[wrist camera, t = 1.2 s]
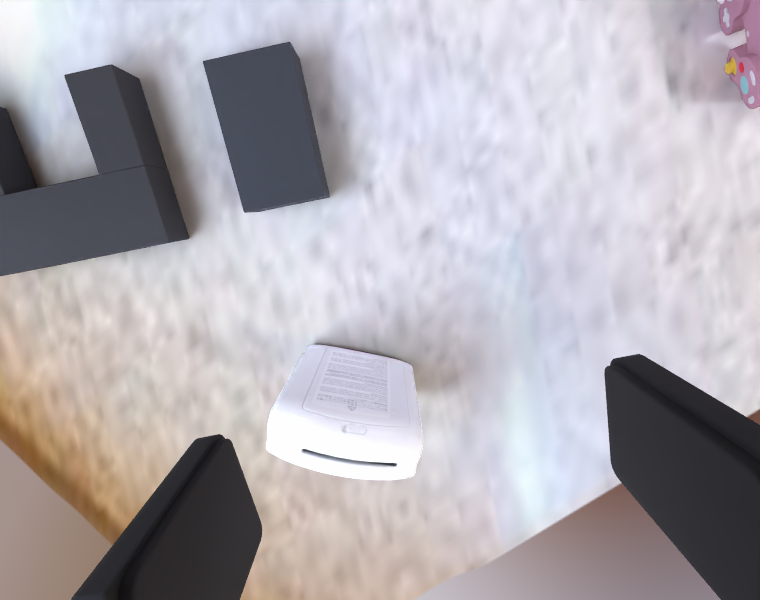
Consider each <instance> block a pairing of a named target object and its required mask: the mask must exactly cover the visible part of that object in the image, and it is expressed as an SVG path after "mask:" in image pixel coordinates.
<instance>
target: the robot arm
mask: <svg viewBox="0 0 760 600" xmlns="http://www.w3.org/2000/svg"><path fill="white" fill-rule="evenodd" d="M605 386H606V400H607V414H608V428H609V443H610V457H611V464H612V468H613V470H614V472H615V474H616V476H617V477H618V479H619V480H620V481H621V482H622V483H623V484H624V486H625V487H626V488H627V489H628V490H629V492H630V493H631V494H632V495H633V496H634V498H635V499H636V500H637V501H638V502H639V503H640V505H641V506H642V507H643V508H644V509H645V511H646V512H647V513H648V514H649V515H650V516H651V518H652V519H653V520H654V521H655V522H656V524H657V525H658V526H659V527H660V528H661V529H662V531H663V532H664V533H665V534H666V535H667V536H668V538H669V539H670V540H671V541H672V542H673V544H674V545H675V546H676V547H677V548H678V549H679V551H680V552H681V553H682V554H683V555H684V557H685V558H686V559H687V560H688V561H689V562H690V563H691V565H692V566H693V567H694V568H695V569H696V571H697V572H698V573H699V574H700V575H701V577H702V578H703V579H704V580H705V581H706V583H707V584H708V585H709V586H710V587H711V588H712V589H713V591H714V592H715V593H716V594H717V595H718V597H719V598H720V599H721V600H760V425H759V424H757V423H755V422H754V421H752V420H750V419H748V418H747V417H745V416H744V415H742V414H740V413H739V412H737V411H735V410H734V409H732V408H730V407H729V406H727V405H725V404H724V403H722V402H720V401H718V400H717V399H715V398H713V397H712V396H710V395H708V394H707V393H705V392H703V391H702V390H700V389H698V388H697V387H695V386H693V385H692V384H690V383H688V382H687V381H685V380H683V379H682V378H680V377H678V376H677V375H675V374H673V373H672V372H670V371H668V370H667V369H665V368H663V367H662V366H660V365H658V364H657V363H655V362H653V361H651V360H650V359H648V358H646V357H645V356H643V355H640V354H636V355H631V356H626V357H621V358H615V359H613V360H612V361H611V364H610V366H607V367H606V368H605ZM261 537H262V525H261V521H260V518H259V515H258V513H257V510H256V507H255V504H254V502H253V499H252V496H251V493H250V491H249V488H248V485H247V482H246V480H245V477H244V474H243V471H242V469H241V466H240V463H239V460H238V458H237V455H236V452H235V449H234V447H233V444H232V442H231V441H230V439H225V438H224V437H223V436H222V435H220V434H218V435H213V436H208V437H203V438H198V439H196V440H195V441H194V442H193V443H192V444H191V446H190V447H189V448H188V449H187V451H186V452H185V453H184V455H183V456H182V457H181V458H180V460H179V461H178V462H177V464H176V465H175V466H174V467H173V469H172V470H171V471H170V473H169V474H168V475H167V476H166V478H165V479H164V480H163V482H162V483H161V484H160V485H159V487H158V488H157V489H156V491H155V492H154V493H153V494H152V496H151V497H150V498H149V500H148V501H147V502H146V503H145V505H144V506H143V507H142V509H141V510H140V511H139V512H138V514H137V515H136V516H135V518H134V519H133V520H132V521H131V523H130V524H129V525H128V527H127V528H126V529H125V530H124V532H123V533H122V534H121V536H120V537H119V538H118V539H117V541H116V542H115V543H114V545H113V546H112V547H111V548H110V550H109V551H108V552H107V554H106V555H105V556H104V557H103V559H102V560H101V561H100V563H99V564H98V565H97V566H96V568H95V569H94V571H93V572H92V573H91V574H90V575H89V577H88V578H87V579H86V581H85V582H84V583H83V584H82V586H81V587H80V588H79V590H78V591H77V592H76V593H75V595H74V596H73V597H72V599H71V600H240V597H241V594H242V592H243V589H244V586H245V583H246V580H247V578H248V575H249V572H250V569H251V566H252V564H253V561H254V558H255V555H256V552H257V549H258V547H259V544H260V541H261Z"/></svg>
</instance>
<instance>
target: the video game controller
mask: <svg viewBox="0 0 760 600" xmlns="http://www.w3.org/2000/svg"><path fill="white" fill-rule="evenodd" d="M716 1H717V2H718V3H719V4H721V5H720V10H719V17H720V24H721V28H722V31H723V32H724V34H725V35H730V34H732V33H735V32H737V31H740V30H743V29H745V33H746V40H747V43H745V44H743V45H740V46H738V47H736V48H734V49H731V50H730V51H729V52H728V56H727V63H726V65H725V72H726V73H727V74H729V75H730V78H731V80H732V81H733V82H734V83H735V84H736V85H737V86H738V88H739V91H740V93H741V96H742V98H743V100H744V103H745V104H746V106H747V107H748V108H750V109H754V108H757V107H760V0H716Z"/></svg>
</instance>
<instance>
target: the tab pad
mask: <svg viewBox="0 0 760 600" xmlns="http://www.w3.org/2000/svg"><path fill="white" fill-rule="evenodd" d="M203 64H204V67H205V71H206V75H207V78H208V82H209V86H210V89H211V93H212V97H213V100H214V104H215V107H216V111H217V115H218V118H219V122H220V126H221V129H222V133H223V137H224V140H225V144H226V148H227V151H228V155H229V159H230V162H231V166H232V170H233V173H234V177H235V181H236V184H237V188H238V191H239V195H240V199H241V202H242V206H243V210H244V212H245V213H246V212H259V211H264V210H269V209H274V208H279V207H284V206H289V205H294V204H299V203H304V202H309V201H314V200H319V199H324V198H329V197H330V196H329V191H328V186H327V182H326V177H325V173H324V168H323V164H322V159H321V154H320V150H319V145H318V141H317V136H316V131H315V127H314V122H313V118H312V113H311V109H310V104H309V99H308V95H307V90H306V86H305V81H304V76H303V72H302V67H301V63H300V59H299V57H298V55H297V53H296V52H295V50H294V48H293V46H292V44H291V43H290V42H287V43H282V44H278V45H273V46H269V47H264V48H260V49H256V50H251V51H247V52H242V53H238V54H233V55H229V56H224V57H220V58H215V59H211V60H207V61H203Z"/></svg>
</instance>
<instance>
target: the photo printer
mask: <svg viewBox="0 0 760 600" xmlns="http://www.w3.org/2000/svg"><path fill="white" fill-rule="evenodd" d="M267 433H268V439H267V443H266V449H267V451H269V452H270V453H272V454H274V455H275V456H277V457H279V458H281V459H283V460H285V461H288V462H290V463H293V464H295V465H298V466H301V467H304V468H307V469H311V470H314V471H318V472H322V473H326V474H331V475H336V476H342V477H348V478H356V479H366V480H397V479H404V478H409V477H413V476H414V475H415V473H416V466H417V462H418V460H419V458H420V456H421V453H422V450H423V433H422V427H421V420H420V413H419V407H418V401H417V395H416V388H415V382H414V374H413V368H412V366H411V365H410V364H408V363H406V362H403V361H400V360H397V359H392V358H388V357H384V356H379V355H374V354H369V353H364V352H359V351H354V350H349V349H343V348H338V347H332V346H325V345H309V346H307V348H306V350H305V352H304V353H303V355H302V356H301V358H300V360H299V361H298V363H297V365H296V367H295V369H294V370H293V372H292V374H291V376H290V377H289V379H288V381H287V383H286V384H285V386H284V388H283V390H282V391H281V393H280V395H279V397H278V399H277V400H276V402H275V404H274V406H273V408H272V409H271V412H270V416H269V420H268V425H267Z"/></svg>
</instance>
